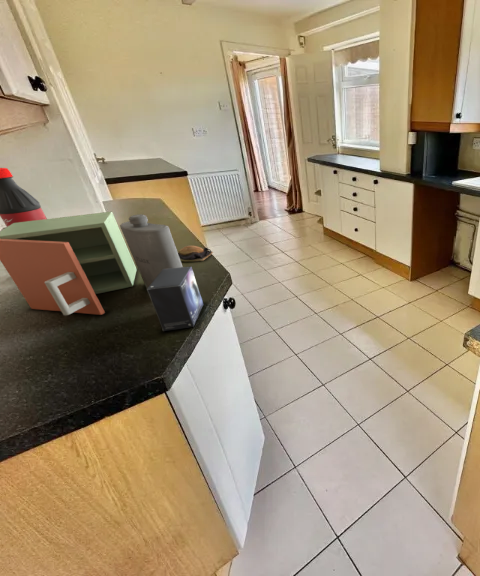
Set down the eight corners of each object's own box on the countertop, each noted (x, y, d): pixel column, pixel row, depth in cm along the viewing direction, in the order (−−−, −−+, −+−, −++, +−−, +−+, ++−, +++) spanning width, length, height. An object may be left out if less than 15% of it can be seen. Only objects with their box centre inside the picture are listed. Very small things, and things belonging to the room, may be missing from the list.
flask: (138, 287, 86) (107, 215, 77) (160, 278, 91) (132, 209, 81) (173, 299, 80) (143, 222, 71) (194, 289, 85) (169, 215, 75)
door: (79, 327, 69) (35, 253, 61) (5, 320, 72) (-46, 248, 64) (105, 312, 75) (68, 242, 66) (35, 306, 78) (-8, 238, 69)
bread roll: (169, 262, 101) (165, 252, 100) (184, 252, 109) (180, 242, 107) (202, 262, 101) (198, 251, 99) (214, 252, 109) (211, 242, 107)
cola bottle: (60, 266, 100) (4, 165, 86) (81, 268, 98) (28, 166, 84) (28, 278, 93) (-38, 170, 78) (51, 280, 91) (-13, 170, 77)
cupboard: (132, 286, 87) (104, 222, 78) (35, 306, 78) (-10, 237, 69) (136, 269, 97) (111, 211, 88) (50, 286, 88) (13, 223, 79)
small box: (196, 327, 69) (180, 285, 64) (162, 332, 68) (144, 289, 63) (205, 303, 78) (192, 264, 73) (176, 307, 76) (160, 268, 72)
